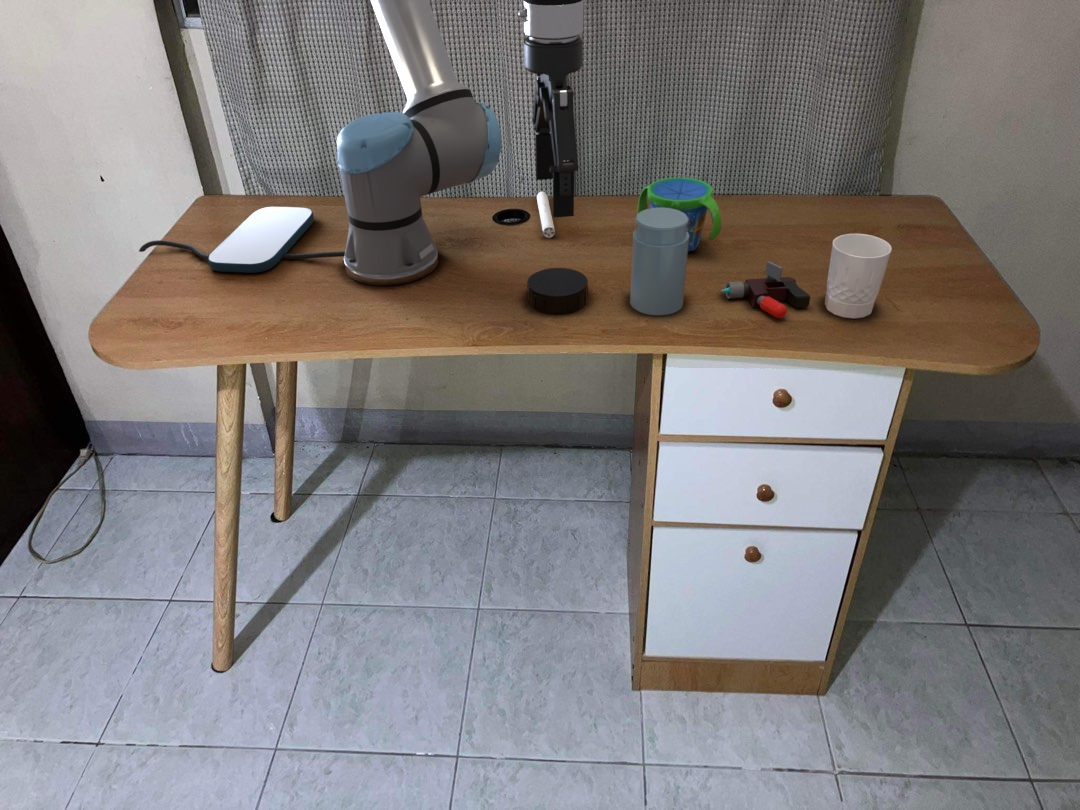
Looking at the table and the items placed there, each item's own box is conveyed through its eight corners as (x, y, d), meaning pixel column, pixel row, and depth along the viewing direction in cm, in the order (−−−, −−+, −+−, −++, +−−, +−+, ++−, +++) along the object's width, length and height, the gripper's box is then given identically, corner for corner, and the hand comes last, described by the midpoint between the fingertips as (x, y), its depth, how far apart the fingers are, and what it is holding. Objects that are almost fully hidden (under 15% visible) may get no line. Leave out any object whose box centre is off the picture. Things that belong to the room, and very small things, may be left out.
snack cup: (621, 240, 143) (623, 183, 137) (664, 223, 148) (667, 167, 142) (688, 271, 133) (694, 211, 127) (732, 251, 138) (739, 193, 132)
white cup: (814, 295, 126) (826, 233, 120) (867, 294, 125) (882, 233, 120) (827, 321, 119) (840, 257, 114) (883, 321, 119) (899, 257, 113)
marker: (535, 198, 159) (535, 186, 158) (546, 198, 159) (546, 186, 158) (543, 238, 145) (542, 225, 143) (555, 237, 145) (554, 224, 143)
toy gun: (717, 292, 127) (720, 263, 124) (793, 288, 128) (798, 259, 125) (734, 324, 119) (738, 294, 116) (815, 319, 120) (821, 289, 117)
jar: (627, 313, 123) (631, 227, 115) (632, 288, 129) (636, 205, 121) (682, 317, 121) (689, 230, 113) (684, 291, 128) (691, 207, 120)
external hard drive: (269, 276, 135) (266, 265, 134) (203, 273, 137) (199, 262, 136) (320, 217, 154) (318, 207, 153) (261, 215, 156) (259, 205, 155)
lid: (567, 280, 132) (567, 262, 130) (599, 304, 125) (599, 285, 123) (517, 295, 128) (516, 277, 126) (547, 320, 122) (546, 301, 120)
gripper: (509, 16, 114) (515, 166, 127) (540, 63, 94) (543, 236, 107) (563, 13, 115) (563, 162, 128) (605, 59, 95) (600, 230, 108)
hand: (554, 196), depth 118 cm, fingers open, 13 cm apart
